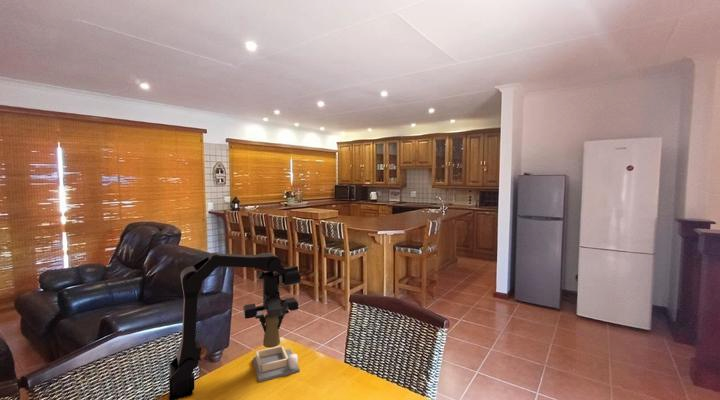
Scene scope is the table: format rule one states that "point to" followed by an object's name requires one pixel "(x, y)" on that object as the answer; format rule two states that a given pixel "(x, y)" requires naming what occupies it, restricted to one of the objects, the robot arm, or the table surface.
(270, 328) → the cork
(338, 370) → the table surface
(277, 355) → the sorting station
